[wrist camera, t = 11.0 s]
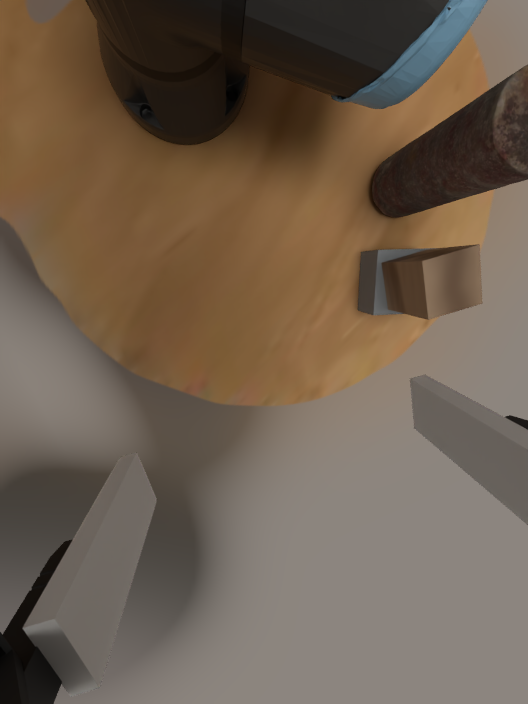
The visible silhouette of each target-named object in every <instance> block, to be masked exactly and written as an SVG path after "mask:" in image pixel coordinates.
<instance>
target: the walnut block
mask: <svg viewBox="0 0 528 704" xmlns="http://www.w3.org/2000/svg"><path fill="white" fill-rule="evenodd" d="M381 264H382V271H383V278H384V285H385V292H386V298H387V305H388V310H392V311H396V312H400V313H404V314H408V315H412V316H416V317H420V318H424V319H428V320H429V319H432V318H436V317H439V316H442V315H446V314H449V313H452V312H456V311H459V310H462V309H465V308H469V307H472V306H476V305H478V304H482V287H481V267H480V244H478V245H468V246H458V247H448V248H437V249H427V250H423V251H420V252H417V253H413V254H410V255H406V256H403V257H399V258H396V259H393V260H389V261H386V262H382V263H381Z"/></svg>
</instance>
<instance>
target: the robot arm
mask: <svg viewBox="0 0 528 704" xmlns="http://www.w3.org/2000/svg"><path fill="white" fill-rule="evenodd" d="M85 1H86V2H87V4H88V6H89V8H90V10H91V12H92V13H93V15H94V17H95V19H96V21H97V29H98V37H99V46H100V52H101V57H102V61H103V64H104V67H105V70H106V73H107V76H108V78H109V80H110V83H111V85H112V87H113V89H114V90H115V92H116V94H117V95H118V97H119V99H120V100H121V102H122V103H123V105H124V107H125V108H126V109H127V111H128V112H129V113H130V115H131V116H132V117H133V118H134V119H135V120H136V121H137V122H138V123H139V124H140V125H141V126H142V127H143V128H145V129H146V130H147V131H149V132H150V133H152V134H153V135H155V136H157V137H159V138H161V139H163V140H166V141H169V142H172V143H177V144H198V143H202V142H205V141H208V140H210V139H213V138H214V137H216V136H218V135H219V134H221V133H222V132H223V131H224V130H225V129H226V128H227V127H228V126H229V125H230V124H231V123H232V122H233V120H234V119H235V118H236V116H237V114H238V112H239V111H240V109H241V106H242V104H243V101H244V98H245V94H246V90H247V84H248V75H249V65H250V66H253V67H255V68H258V69H261V70H264V71H266V72H269V73H272V74H274V75H277V76H280V77H283V78H285V79H288V80H291V81H293V82H296V83H299V84H301V85H304V86H307V87H310V88H312V89H315V90H318V91H320V92H323V93H326V94H329V95H331V97H332V99H334V100H336V101H338V102H353V103H356V104H359V105H363V106H366V107H369V108H373V109H384V108H386V107H388V106H392V105H395V104H398V103H400V102H402V101H403V100H405V99H406V98H408V97H409V96H410V95H412V94H413V93H414V92H415V91H417V90H418V89H419V88H420V87H421V86H422V85H423V84H424V83H425V82H426V81H427V80H428V79H429V78H430V77H431V76H432V75H433V74H434V73H435V72H436V70H437V69H438V68H439V67H440V66H441V65H442V64H443V62H444V61H445V60H446V59H447V57H448V56H449V55H450V54H451V53H452V51H453V50H454V49H455V47H456V46H457V45H458V43H459V42H460V41H461V39H462V38H463V37H464V35H465V34H466V33H467V31H468V30H469V28H470V27H471V25H472V24H473V22H474V21H475V19H476V18H477V16H478V15H479V13H480V12H481V10H482V9H483V7H484V5H485V4H486V2H487V0H85ZM410 386H411V396H412V408H413V419H414V428H415V429H416V430H417V431H418V432H419V433H420V434H422V435H423V436H424V437H425V438H426V439H428V440H429V441H430V442H431V443H432V444H433V445H435V446H436V447H437V448H438V449H439V450H440V451H442V452H443V453H444V454H445V455H446V456H447V457H449V458H450V459H451V460H452V461H453V462H454V463H456V464H457V465H458V466H459V467H460V468H462V469H463V470H464V471H465V472H466V473H467V474H468V475H470V476H471V477H472V478H473V479H474V480H475V481H477V482H478V483H479V484H480V485H481V486H483V487H484V488H485V489H486V490H487V491H489V492H490V493H491V494H492V495H493V496H494V497H495V498H497V499H498V500H499V501H500V502H501V503H503V504H504V505H505V506H506V507H507V508H508V509H509V510H511V511H512V512H513V513H514V514H515V515H516V516H518V517H519V518H520V519H521V520H522V521H524V522H525V523H526V524H527V525H528V420H524V419H521V418H517V417H514V416H506V417H503V416H501V415H499V414H497V413H496V412H494V411H492V410H490V409H488V408H486V407H484V406H483V405H481V404H479V403H477V402H475V401H473V400H471V399H470V398H468V397H466V396H464V395H462V394H460V393H458V392H457V391H455V390H453V389H451V388H449V387H447V386H445V385H443V384H442V383H440V382H438V381H436V380H434V379H432V378H430V377H428V376H427V375H422V376H418V377H414V378H411V379H410ZM156 501H157V499H156V496H155V494H154V492H153V489H152V487H151V485H150V482H149V480H148V477H147V475H146V473H145V470H144V468H143V466H142V463H141V461H140V459H139V456H138V454H137V452H136V453H133V454H129V455H125V456H121V457H120V458H119V460H118V461H117V463H116V465H115V467H114V468H113V470H112V472H111V474H110V476H109V477H108V479H107V481H106V482H105V484H104V486H103V488H102V490H101V491H100V493H99V495H98V497H97V498H96V500H95V502H94V503H93V505H92V507H91V509H90V511H89V512H88V514H87V516H86V518H85V519H84V521H83V523H82V525H81V526H80V528H79V530H78V532H77V533H76V535H75V537H74V539H73V540H69V541H65V542H64V543H63V544H62V545H61V546H60V547H59V548H58V550H56V551H55V553H54V554H53V555H52V556H51V557H50V558H49V560H48V562H47V563H46V565H45V567H44V568H43V570H42V571H41V573H40V577H38V578H37V579H36V581H35V583H34V584H33V586H32V590H31V591H29V593H28V594H27V596H26V597H25V599H24V601H23V602H22V604H21V605H20V607H19V609H18V610H17V612H16V614H15V615H14V617H13V619H12V620H11V622H10V623H9V625H8V627H7V628H6V630H5V632H4V633H3V635H2V634H1V632H0V704H53V703H54V701H55V698H56V696H57V693H58V691H59V688H60V686H61V684H62V685H63V687H64V688H65V689H66V691H67V692H68V693H69V695H70V696H71V697H72V696H75V695H79V694H82V693H85V692H88V691H92V690H95V689H98V688H100V686H101V682H102V679H103V676H104V672H105V669H106V666H107V663H108V659H109V656H110V653H111V649H112V646H113V643H114V639H115V636H116V633H117V629H118V626H119V623H120V620H121V617H122V613H123V610H124V607H125V603H126V600H127V597H128V593H129V590H130V587H131V584H132V580H133V577H134V574H135V570H136V567H137V564H138V561H139V557H140V554H141V551H142V548H143V544H144V541H145V538H146V534H147V531H148V528H149V525H150V521H151V518H152V515H153V511H154V508H155V505H156Z"/></svg>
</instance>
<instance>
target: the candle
mask: <svg viewBox="0 0 528 704" xmlns="http://www.w3.org/2000/svg"><path fill="white" fill-rule="evenodd" d="M527 179H528V65H526V66H524V67H523V68H521V69H520V70H519V71H517V72H515V73H514V74H512V75H511V76H509V77H508V78H506V79H505V80H503V81H502V82H500V83H499V84H497V85H496V86H494V87H493V88H491V89H490V90H488V91H487V92H485V93H484V94H482V95H481V96H480V97H478V98H477V99H475V100H474V101H472V102H471V103H469V104H468V105H466V106H465V107H464V108H462V109H461V110H459V111H457V112H456V113H454V114H453V115H451V116H450V117H449V118H447V119H446V120H444V121H443V122H441V123H440V124H438V125H437V126H435V127H434V128H432V129H431V130H429V131H428V132H426V133H425V134H423V135H422V136H420V137H419V138H417V139H415V140H414V141H412V142H411V143H409V144H408V145H406V146H405V147H404V148H402V149H401V150H399V151H398V152H396V153H394V154H393V155H392V156H390V157H389V158H387V159H386V160H385V161H384V162H383V163H382V164H381V165H380V166H379V168H378V169H377V171H376V173H375V175H374V181H373V187H372V193H373V200H374V202H375V204H376V205H377V207H378V208H379V209H380V210H381V211H382V213H384V214H385V215H388V216H390V217H395V218H398V217H403V216H407V215H410V214H414V213H417V212H421V211H424V210H427V209H430V208H433V207H436V206H440V205H443V204H446V203H450V202H452V201H456V200H459V199H462V198H466V197H469V196H472V195H476V194H480V193H483V192H486V191H489V190H493V189H497V188H500V187H503V186H506V185H509V184H512V183H516V182H520V181H524V180H527Z"/></svg>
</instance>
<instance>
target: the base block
mask: <svg viewBox="0 0 528 704" xmlns="http://www.w3.org/2000/svg"><path fill="white" fill-rule="evenodd" d="M430 249H437V248H430ZM423 250H427V249H394V250H373V251H365V252H361V261H360V279H359V297H358V310H359V311H362V312H365V313H368V314H371V315H388V314H404V313H400V312H396V311H392V310H388V305H387V298H386V292H385V285H384V278H383V271H382V264H381V263H382V262H386V261H389V260H393V259H396V258H399V257H403V256H406V255H410V254H413V253H417V252H420V251H423Z"/></svg>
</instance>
